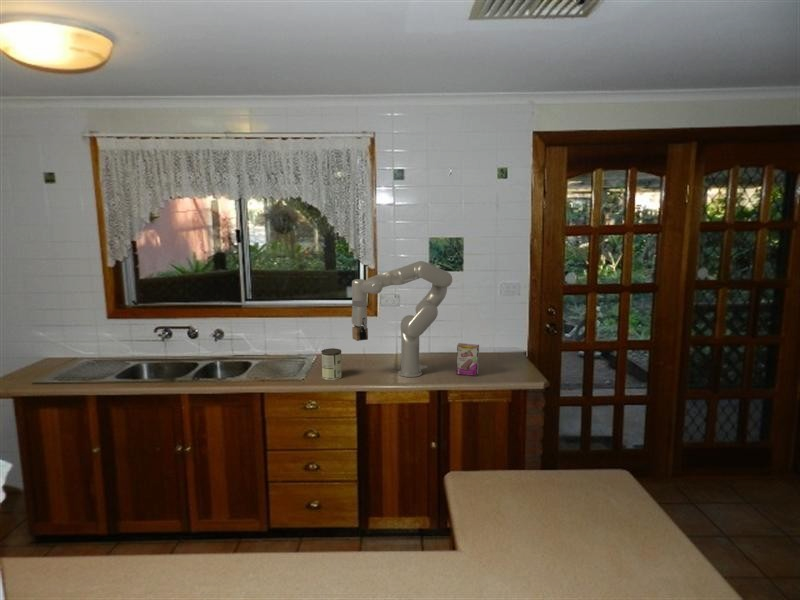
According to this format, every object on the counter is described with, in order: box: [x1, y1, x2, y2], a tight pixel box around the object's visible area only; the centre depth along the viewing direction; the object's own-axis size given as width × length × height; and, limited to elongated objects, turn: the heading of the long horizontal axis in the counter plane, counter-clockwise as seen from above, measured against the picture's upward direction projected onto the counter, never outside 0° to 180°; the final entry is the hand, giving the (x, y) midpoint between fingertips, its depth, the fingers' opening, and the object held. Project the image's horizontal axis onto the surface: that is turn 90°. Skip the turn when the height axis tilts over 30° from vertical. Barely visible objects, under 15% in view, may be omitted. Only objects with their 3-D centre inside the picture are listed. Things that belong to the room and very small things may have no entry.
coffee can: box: [321, 347, 343, 381], centre depth 265 cm, size 10×10×14 cm
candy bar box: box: [455, 342, 480, 377], centre depth 270 cm, size 11×5×16 cm, turn 74°
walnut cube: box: [351, 326, 369, 342], centre depth 262 cm, size 6×6×6 cm
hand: (360, 337), depth 263 cm, fingers closed on walnut cube, 6 cm apart
